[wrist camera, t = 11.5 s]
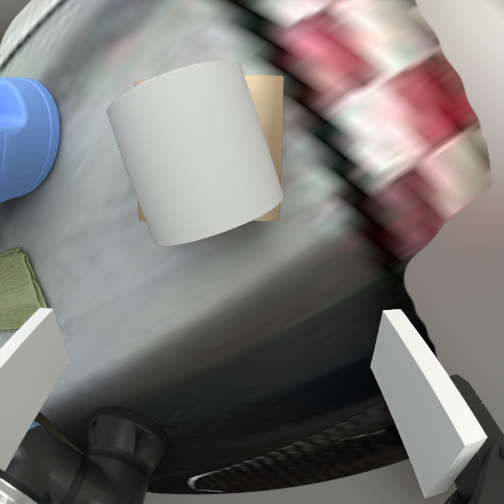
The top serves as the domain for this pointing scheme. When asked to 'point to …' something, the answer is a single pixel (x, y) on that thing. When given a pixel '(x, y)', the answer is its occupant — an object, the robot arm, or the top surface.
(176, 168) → the toilet paper
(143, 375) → the top surface
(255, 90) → the oak brick
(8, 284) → the washcloth
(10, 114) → the water jug
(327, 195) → the top surface
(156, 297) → the top surface
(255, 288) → the top surface
